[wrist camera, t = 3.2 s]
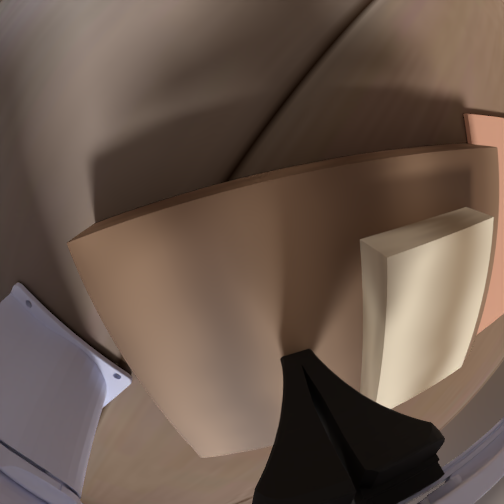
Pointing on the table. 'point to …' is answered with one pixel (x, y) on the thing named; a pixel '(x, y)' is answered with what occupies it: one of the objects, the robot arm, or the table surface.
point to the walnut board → (263, 279)
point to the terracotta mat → (499, 135)
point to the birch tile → (421, 302)
